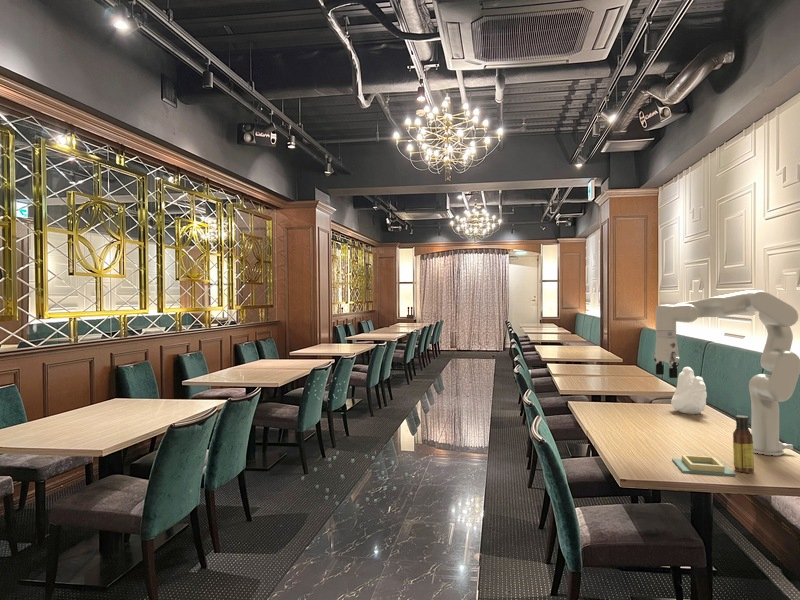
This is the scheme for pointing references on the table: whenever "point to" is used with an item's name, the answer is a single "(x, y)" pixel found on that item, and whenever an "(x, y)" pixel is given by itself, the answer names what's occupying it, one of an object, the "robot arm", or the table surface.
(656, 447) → the table surface
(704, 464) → the teal board with frame
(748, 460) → the sauce bottle
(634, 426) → the table surface
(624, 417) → the table surface
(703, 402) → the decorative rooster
